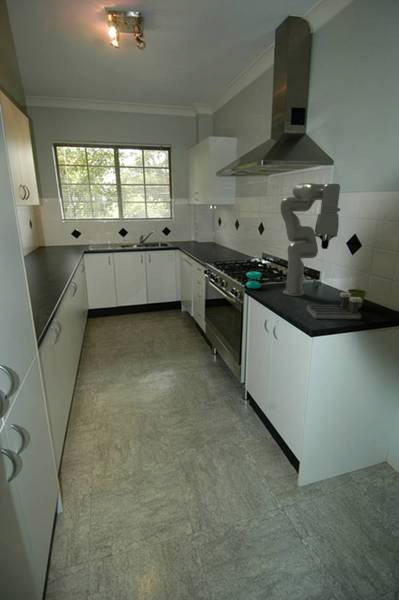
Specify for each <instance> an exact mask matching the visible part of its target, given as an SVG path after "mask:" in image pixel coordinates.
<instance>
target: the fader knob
mask: <svg viewBox="0 0 399 600" xmlns="http://www.w3.org/2000/svg"><path fill="white" fill-rule="evenodd" d="M350 301H352V303H351V310H350V312H351V313H357V312H359V308H358V306H359V302H362V299H361V298H360V297H350Z"/></svg>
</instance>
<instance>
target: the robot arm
mask: <svg viewBox="0 0 399 600" xmlns="http://www.w3.org/2000/svg"><path fill="white" fill-rule="evenodd" d="M340 190H341V184H339V183H325V184H324V183H311V182H309V183H305V182H304V183H302V182H301V183H298V184H296V185H295V186H294V187H293V188H292V194H293V196H288V197H285V198H283V199H282V200H281V203H280V214H281V217H282V219H283V221H284V224H285V228H286V229H285V230H286V236H287V239H288V241H289V242H291V243H289V245H288V247H287V272H286V274H287V275H286V284H285V289H284V290H283V291H282V293H283V294H284V295H287V296H292V297H301V296H302V297H303V296H304V295H305V292H304V291H303V282H304V273H305V265H304V262H303V261H302V259H313V258H315V257H317V256H318V253H319V249H318V243H317V238H319V239H320V241H321V245H320V246H321V249H323V250H328V247H329V244H330V241H331V240H332V239H333V238H337V236H338V231H339V226H340V225H339V224H340V221H339V212H340V211H341V208H339V200H340ZM316 201H321V203H320V204H321V205H320V206H321V207H320V213H318V214H317V218H316V222H315V226H314V227H315V228H313V227H312V226H308V225H307V226H304V225H301V221H300V219H299V217H298V216H297V214H295V213H294V212H296V213H297V212H302V213H303V212H308V211H309V210H311V209H312V206H313V205H314V203H315V202H316Z"/></svg>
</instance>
